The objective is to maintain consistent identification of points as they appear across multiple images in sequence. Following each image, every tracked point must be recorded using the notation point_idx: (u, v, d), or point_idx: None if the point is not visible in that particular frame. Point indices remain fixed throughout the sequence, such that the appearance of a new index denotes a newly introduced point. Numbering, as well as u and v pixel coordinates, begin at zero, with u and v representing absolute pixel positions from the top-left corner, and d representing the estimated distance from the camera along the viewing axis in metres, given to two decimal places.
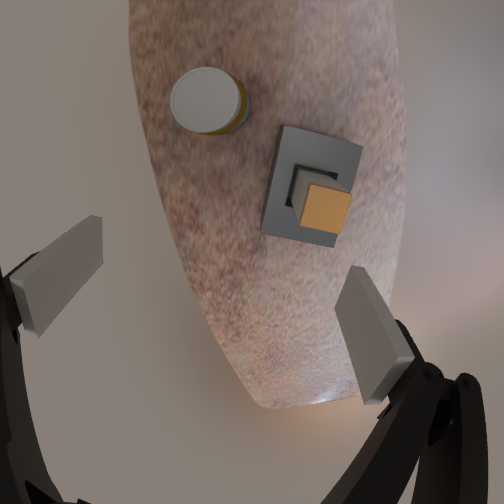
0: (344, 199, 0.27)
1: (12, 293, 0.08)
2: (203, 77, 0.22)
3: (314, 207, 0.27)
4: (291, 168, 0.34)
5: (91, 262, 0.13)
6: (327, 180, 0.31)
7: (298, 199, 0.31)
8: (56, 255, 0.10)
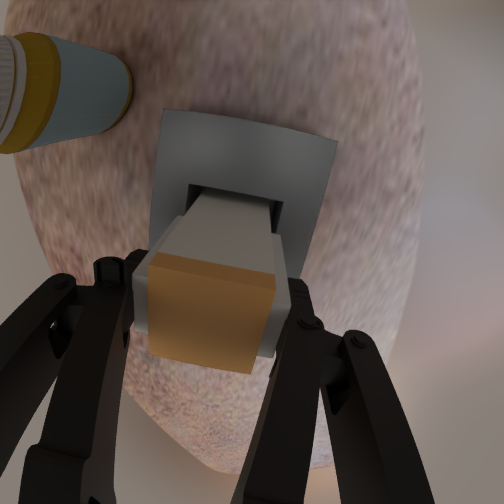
0: (254, 301, 0.10)
1: (132, 291, 0.10)
2: None
3: (170, 320, 0.10)
4: (182, 195, 0.17)
5: None
6: (242, 226, 0.14)
7: None
8: None
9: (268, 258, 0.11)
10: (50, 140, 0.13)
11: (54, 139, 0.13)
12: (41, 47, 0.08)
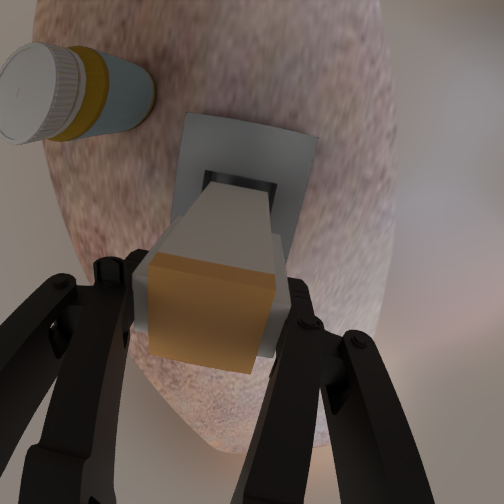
0: (254, 301, 0.10)
1: (131, 291, 0.10)
2: (22, 61, 0.09)
3: (170, 320, 0.10)
4: (200, 179, 0.22)
5: None
6: (242, 226, 0.14)
7: None
8: None
9: (268, 258, 0.11)
10: (94, 133, 0.18)
11: (97, 132, 0.18)
12: (94, 60, 0.13)
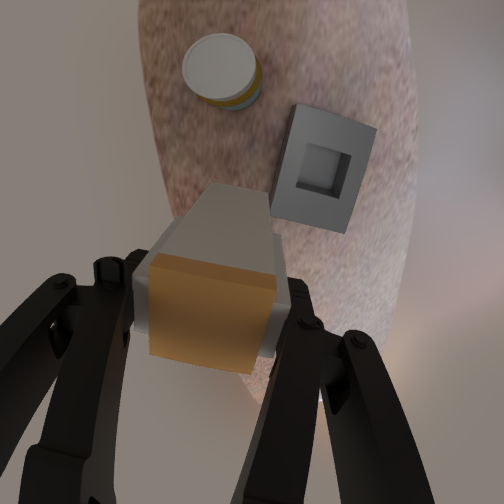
0: (254, 302, 0.10)
1: (131, 290, 0.10)
2: (218, 43, 0.19)
3: (171, 321, 0.10)
4: (303, 148, 0.32)
5: None
6: (243, 226, 0.14)
7: None
8: None
9: (269, 259, 0.11)
10: (236, 106, 0.28)
11: (237, 106, 0.28)
12: (255, 57, 0.23)
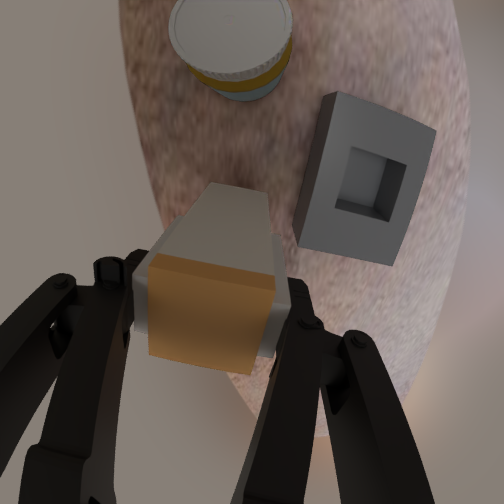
0: (254, 303, 0.10)
1: (132, 291, 0.10)
2: None
3: (170, 321, 0.10)
4: (346, 154, 0.22)
5: None
6: (242, 227, 0.14)
7: None
8: None
9: (268, 259, 0.11)
10: (254, 92, 0.18)
11: (254, 93, 0.19)
12: None
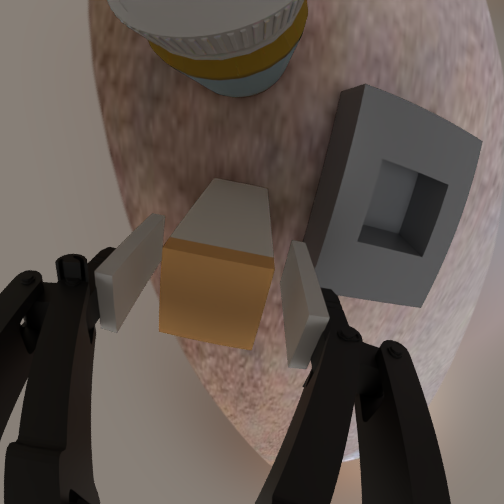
0: (255, 280, 0.11)
1: (95, 288, 0.09)
2: None
3: (180, 298, 0.11)
4: (376, 169, 0.16)
5: (155, 258, 0.15)
6: (244, 217, 0.15)
7: None
8: (135, 251, 0.11)
9: (268, 244, 0.13)
10: (250, 81, 0.12)
11: (251, 82, 0.13)
12: None
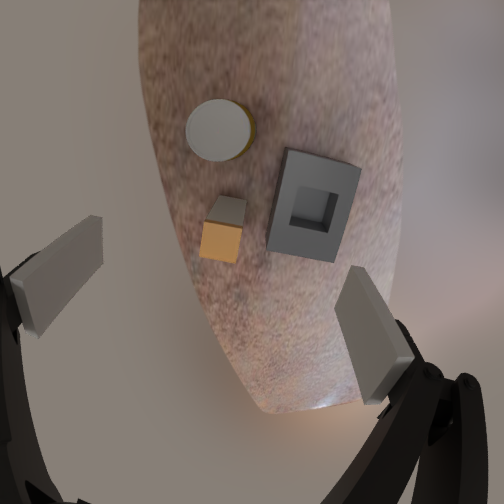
0: (236, 233, 0.32)
1: (12, 293, 0.08)
2: (217, 109, 0.25)
3: (209, 241, 0.32)
4: (295, 190, 0.37)
5: (91, 262, 0.13)
6: (233, 213, 0.36)
7: None
8: (56, 255, 0.10)
9: (241, 222, 0.33)
10: None
11: None
12: (249, 115, 0.28)
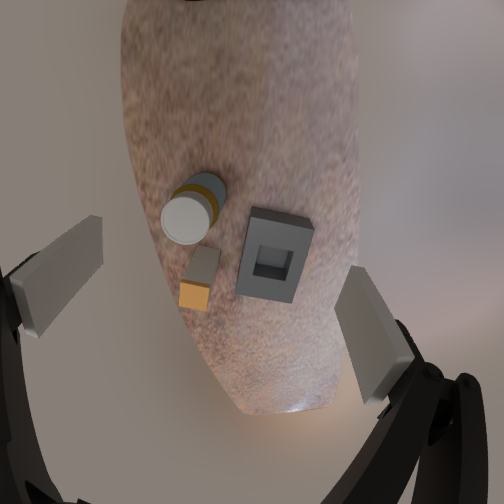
0: (205, 291, 0.41)
1: (12, 293, 0.08)
2: (183, 205, 0.34)
3: (185, 295, 0.41)
4: (256, 248, 0.46)
5: (91, 262, 0.13)
6: (205, 269, 0.45)
7: None
8: (56, 255, 0.10)
9: (210, 280, 0.43)
10: None
11: None
12: (212, 199, 0.37)
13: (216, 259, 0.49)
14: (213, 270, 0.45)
